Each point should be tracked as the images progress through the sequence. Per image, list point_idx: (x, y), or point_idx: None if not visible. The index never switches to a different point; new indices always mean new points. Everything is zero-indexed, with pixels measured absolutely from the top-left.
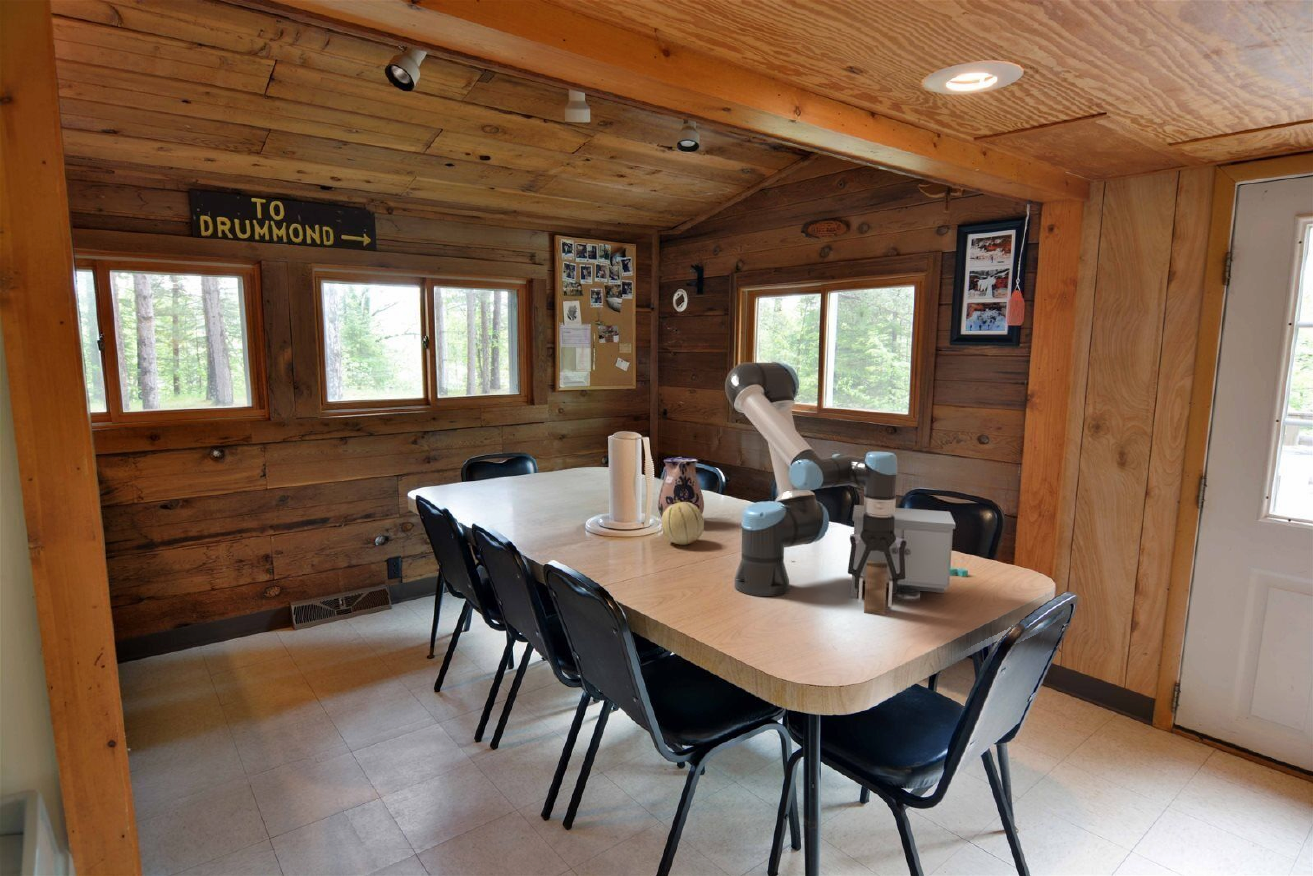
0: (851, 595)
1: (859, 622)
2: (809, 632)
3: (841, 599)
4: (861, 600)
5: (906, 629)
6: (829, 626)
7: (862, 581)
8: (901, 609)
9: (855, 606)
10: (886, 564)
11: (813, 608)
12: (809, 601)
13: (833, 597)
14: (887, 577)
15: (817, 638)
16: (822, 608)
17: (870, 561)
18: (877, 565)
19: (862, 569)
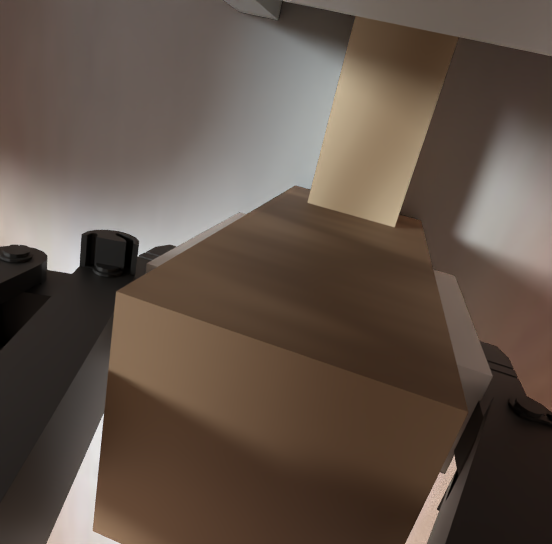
0: (236, 7)
1: None
2: None
3: (172, 67)
4: None
5: (429, 508)
6: (96, 441)
7: None
8: (541, 234)
9: (239, 195)
10: (414, 499)
11: (28, 239)
12: (3, 132)
13: (126, 32)
14: (548, 49)
15: (58, 526)
16: (67, 237)
17: (176, 323)
18: (246, 521)
19: (100, 417)
